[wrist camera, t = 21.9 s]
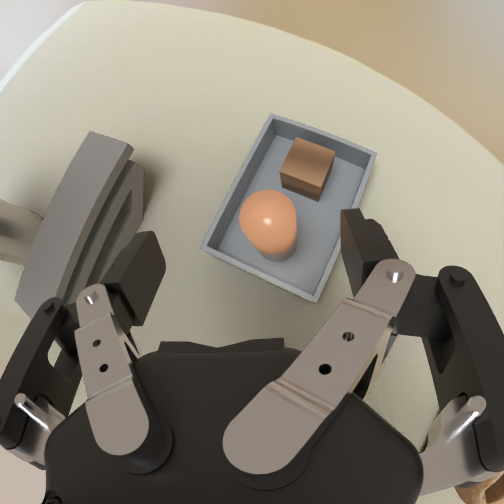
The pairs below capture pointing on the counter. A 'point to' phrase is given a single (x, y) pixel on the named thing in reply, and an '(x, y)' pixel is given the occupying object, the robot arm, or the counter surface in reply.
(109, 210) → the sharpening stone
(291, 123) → the tote
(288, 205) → the peach dome-topped cylinder
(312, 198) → the cube
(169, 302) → the counter surface
